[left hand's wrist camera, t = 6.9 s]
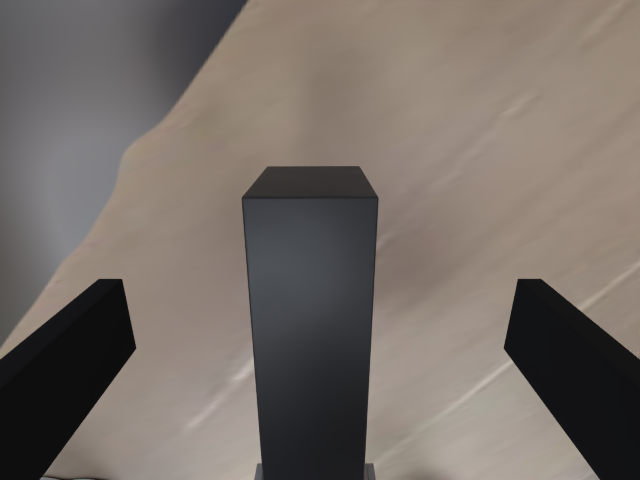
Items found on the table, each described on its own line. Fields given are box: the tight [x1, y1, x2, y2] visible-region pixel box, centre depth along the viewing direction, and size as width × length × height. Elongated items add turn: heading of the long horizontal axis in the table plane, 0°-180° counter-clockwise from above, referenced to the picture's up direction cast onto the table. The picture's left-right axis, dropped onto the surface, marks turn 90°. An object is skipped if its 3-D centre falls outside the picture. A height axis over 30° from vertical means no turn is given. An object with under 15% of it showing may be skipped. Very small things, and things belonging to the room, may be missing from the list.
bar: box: [242, 166, 378, 480], centre depth 24 cm, size 25×6×8 cm, turn 0°
